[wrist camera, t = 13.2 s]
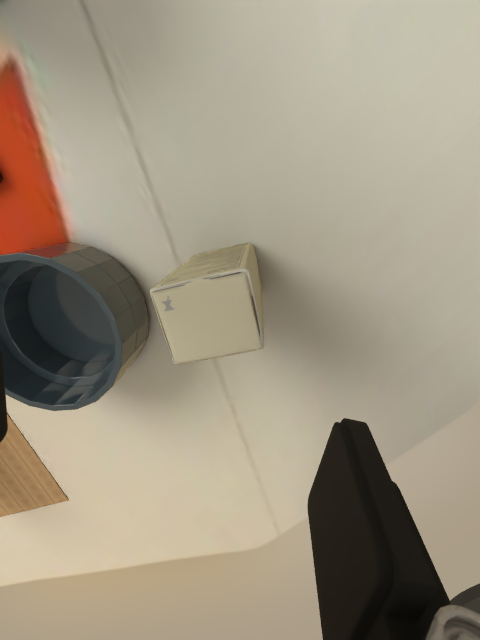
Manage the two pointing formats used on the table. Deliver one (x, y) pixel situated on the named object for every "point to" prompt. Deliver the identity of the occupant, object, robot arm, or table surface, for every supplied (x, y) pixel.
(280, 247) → the table surface
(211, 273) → the box
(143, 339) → the round storage tub
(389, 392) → the table surface
